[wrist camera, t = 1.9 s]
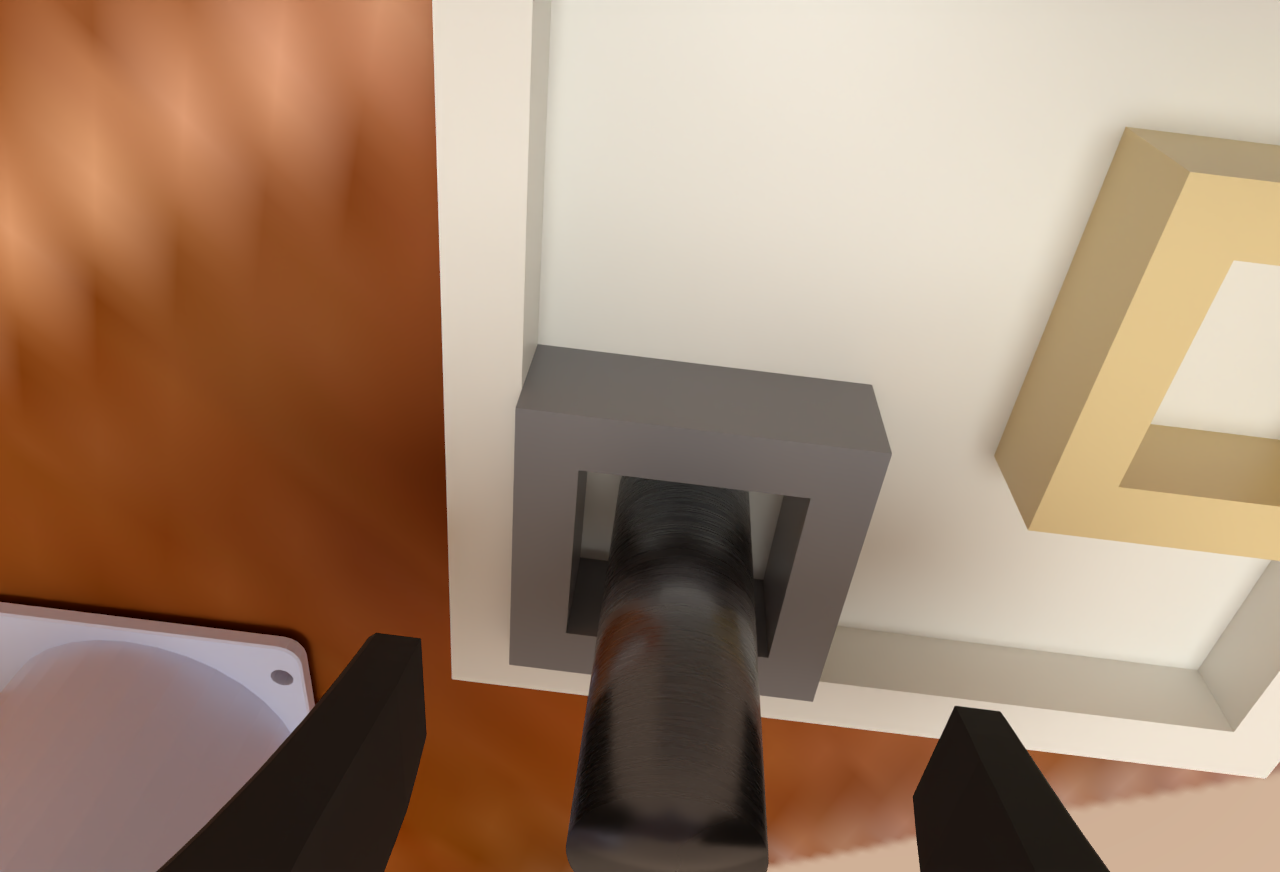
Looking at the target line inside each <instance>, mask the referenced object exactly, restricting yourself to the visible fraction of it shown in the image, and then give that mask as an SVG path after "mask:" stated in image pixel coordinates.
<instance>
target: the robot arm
mask: <svg viewBox="0 0 1280 872" xmlns="http://www.w3.org/2000/svg"><path fill="white" fill-rule="evenodd" d="M425 739H426V718H425V701H424V684H423V666H422V649H421V639H420V638H412V637H404V636H396V635H388V634H380V633H375V634H374V635H372V636H370V637H369V638H368V639H367V640H366V642H365V643H364V644H363V646H362V647H361V648H360V650H359V651H358V652H357V654H356V655H355V656H354V658H353V659H352V660H351V661H350V663H349V664H348V665H347V667H346V668H345V669H344V671H343V672H342V673H341V674H340V676H339V677H338V678H337V679H336V681H335V682H334V683H333V684H332V686H331V687H330V688H329V689H328V691H327V692H326V693H325V694H324V695H323V697H322V698H321V699H320V700H319V701H318V703H317V704H316V705H315V702H314V696H313V690H312V684H311V678H310V672H309V665H308V659H307V654H306V652H305V649H304V648H303V646H302V645H300V644H299V643H298V642H297V641H295V640H293V639H291V638H288V637H284V636H275V635H267V634H259V633H251V632H243V631H234V630H226V629H218V628H210V627H202V626H194V625H185V624H177V623H169V622H161V621H153V620H144V619H136V618H128V617H120V616H112V615H104V614H95V613H87V612H79V611H71V610H63V609H54V608H46V607H38V606H30V605H22V604H13V603H5V602H0V872H384V871H385V868H386V865H387V863H388V860H389V857H390V855H391V852H392V849H393V847H394V844H395V841H396V838H397V836H398V833H399V830H400V828H401V825H402V822H403V820H404V817H405V814H406V811H407V808H408V805H409V801H410V797H411V793H412V790H413V786H414V782H415V778H416V775H417V771H418V767H419V763H420V759H421V755H422V751H423V747H424V743H425ZM913 803H914V814H915V826H916V837H917V846H918V855H919V863H920V872H1110V871H1109V870H1108V868H1107V867H1106V865H1105V864H1104V863H1103V861H1102V860H1101V859H1100V857H1099V856H1098V854H1097V853H1096V852H1095V850H1094V849H1093V847H1092V846H1091V845H1090V843H1089V842H1088V840H1087V839H1086V838H1085V836H1084V835H1083V833H1082V832H1081V830H1080V829H1079V827H1078V826H1077V825H1076V823H1075V822H1074V820H1073V819H1072V817H1071V816H1070V814H1069V813H1068V811H1067V810H1066V808H1065V807H1064V805H1063V804H1062V803H1061V801H1060V800H1059V798H1058V797H1057V795H1056V794H1055V792H1054V791H1053V789H1052V788H1051V786H1050V785H1049V783H1048V782H1047V780H1046V779H1045V777H1044V776H1043V774H1042V773H1041V771H1040V770H1039V768H1038V767H1037V765H1036V764H1035V762H1034V761H1033V759H1032V758H1031V756H1030V755H1029V753H1028V751H1027V750H1026V748H1025V747H1024V745H1023V744H1022V742H1021V741H1020V739H1019V738H1018V736H1017V735H1016V733H1015V732H1014V730H1013V729H1012V727H1011V726H1010V724H1009V723H1008V721H1007V720H1006V718H1005V717H1004V716H1003V714H1002V713H1001V712H1000V711H994V710H986V709H978V708H970V707H962V706H954V709H953V711H952V713H951V715H950V717H949V719H948V722H947V724H946V726H945V728H944V730H943V732H942V735H941V737H940V739H939V741H938V743H937V745H936V748H935V750H934V752H933V754H932V756H931V758H930V761H929V763H928V765H927V767H926V769H925V771H924V773H923V776H922V778H921V780H920V782H919V784H918V786H917V789H916V791H915V793H914V795H913Z"/></svg>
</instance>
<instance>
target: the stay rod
mask: <svg viewBox="0 0 1280 872" xmlns="http://www.w3.org/2000/svg"><path fill="white" fill-rule="evenodd" d="M566 854H567V858H568V861H569V863H570V866H571V868H572V869H573V871H574V872H766V871H767V868H768V841H767V823H766V804H765V785H764V766H763V747H762V729H761V710H760V691H759V672H758V653H757V634H756V616H755V597H754V578H753V559H752V540H751V522H750V503H749V491H744V490H736V489H728V488H720V487H711V486H703V485H695V484H687V483H679V482H670V481H662V480H654V479H646V478H638V477H629V476H622V478H621V480H620V484H619V490H618V497H617V503H616V510H615V517H614V524H613V531H612V537H611V544H610V551H609V558H608V565H607V571H606V578H605V585H604V592H603V599H602V605H601V612H600V619H599V626H598V633H597V639H596V646H595V653H594V660H593V667H592V673H591V680H590V687H589V694H588V701H587V707H586V714H585V721H584V728H583V735H582V741H581V748H580V755H579V762H578V769H577V775H576V782H575V789H574V796H573V803H572V809H571V816H570V823H569V830H568V837H567V843H566Z"/></svg>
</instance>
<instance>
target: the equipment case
mask: <svg viewBox="0 0 1280 872" xmlns="http://www.w3.org/2000/svg"><path fill="white" fill-rule="evenodd" d="M432 9H433V43H434V78H435V112H436V147H437V181H438V216H439V250H440V285H441V319H442V354H443V388H444V423H445V457H446V492H447V526H448V561H449V595H450V630H451V664H452V679H455V680H463V681H471V682H479V683H488V684H496V685H504V686H512V687H520V688H528V689H537V690H545V691H553V692H561V693H569V694H578V695H586V696H588V694H589V687H590V680H591V673H592V667H593V660H594V653H595V646H596V639H597V633H598V626H599V619H600V612H601V605H602V599H603V592H604V585H605V578H606V571H607V565H608V558H609V551H610V544H611V537H612V531H613V524H614V517H615V510H616V503H617V497H618V490H619V484H620V480H621V478H622V476H629V477H638V478H646V479H654V480H662V481H670V482H679V483H687V484H695V485H703V486H711V487H720V488H728V489H736V490H744V491H749V503H750V522H751V540H752V559H753V578H754V597H755V616H756V634H757V653H758V672H759V691H760V710H761V717H766V718H774V719H782V720H790V721H799V722H807V723H815V724H823V725H831V726H839V727H848V728H856V729H864V730H872V731H880V732H889V733H897V734H905V735H913V736H921V737H929V738H938V739H940V737H941V735H942V732H943V730H944V728H945V726H946V724H947V722H948V719H949V717H950V715H951V713H952V711H953V709H954V706H962V707H970V708H978V709H986V710H994V711H1000V712H1001V713H1002V714H1003V716H1004V717H1005V718H1006V720H1007V721H1008V723H1009V724H1010V726H1011V727H1012V729H1013V730H1014V732H1015V733H1016V735H1017V736H1018V738H1019V739H1020V741H1021V742H1022V744H1023V745H1024V747H1025V748H1026V749H1028V750H1036V751H1044V752H1052V753H1060V754H1069V755H1077V756H1085V757H1093V758H1101V759H1109V760H1118V761H1126V762H1134V763H1142V764H1150V765H1159V766H1167V767H1175V768H1183V769H1191V770H1199V771H1208V772H1216V773H1224V774H1232V775H1240V776H1249V777H1257V778H1265V779H1266V778H1267V776H1268V775H1269V774H1270V773H1271V772H1272V770H1273V769H1274V768H1275V767H1276V766H1277V764H1278V763H1279V762H1280V0H432Z"/></svg>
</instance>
